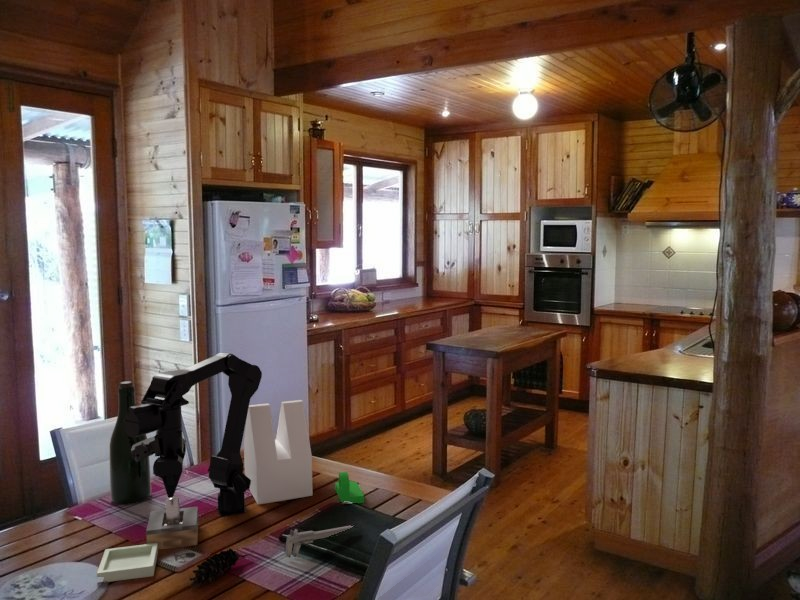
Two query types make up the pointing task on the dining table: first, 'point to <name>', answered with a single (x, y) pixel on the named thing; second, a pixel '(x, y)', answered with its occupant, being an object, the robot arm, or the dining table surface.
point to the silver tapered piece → (172, 511)
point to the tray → (128, 562)
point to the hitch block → (173, 529)
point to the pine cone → (215, 566)
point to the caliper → (308, 538)
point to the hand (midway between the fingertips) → (172, 489)
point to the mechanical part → (348, 489)
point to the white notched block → (278, 453)
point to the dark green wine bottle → (127, 457)
